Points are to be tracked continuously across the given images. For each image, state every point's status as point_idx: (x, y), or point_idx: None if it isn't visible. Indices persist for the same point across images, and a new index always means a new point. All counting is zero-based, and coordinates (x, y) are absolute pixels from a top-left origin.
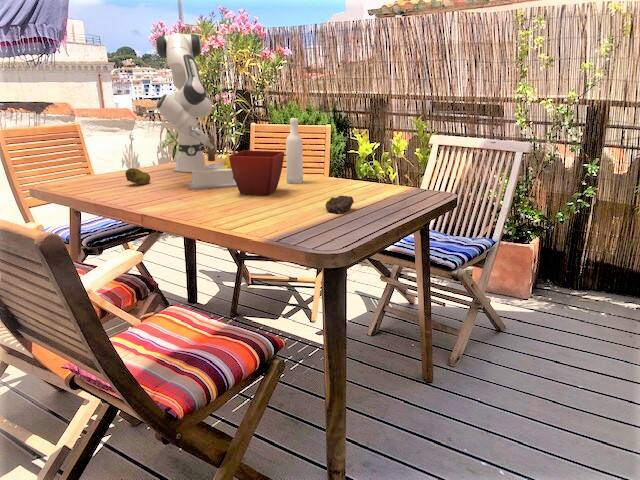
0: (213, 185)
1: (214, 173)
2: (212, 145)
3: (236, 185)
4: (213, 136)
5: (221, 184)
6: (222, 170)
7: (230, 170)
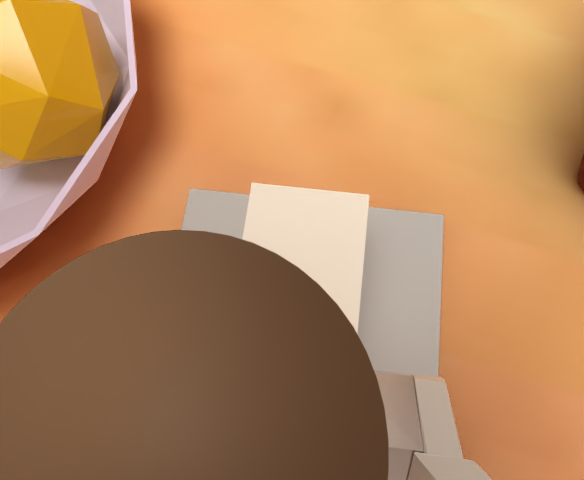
0: None
1: None
2: (449, 430)
3: (441, 242)
4: (315, 283)
5: (380, 355)
6: (337, 300)
7: (366, 219)
